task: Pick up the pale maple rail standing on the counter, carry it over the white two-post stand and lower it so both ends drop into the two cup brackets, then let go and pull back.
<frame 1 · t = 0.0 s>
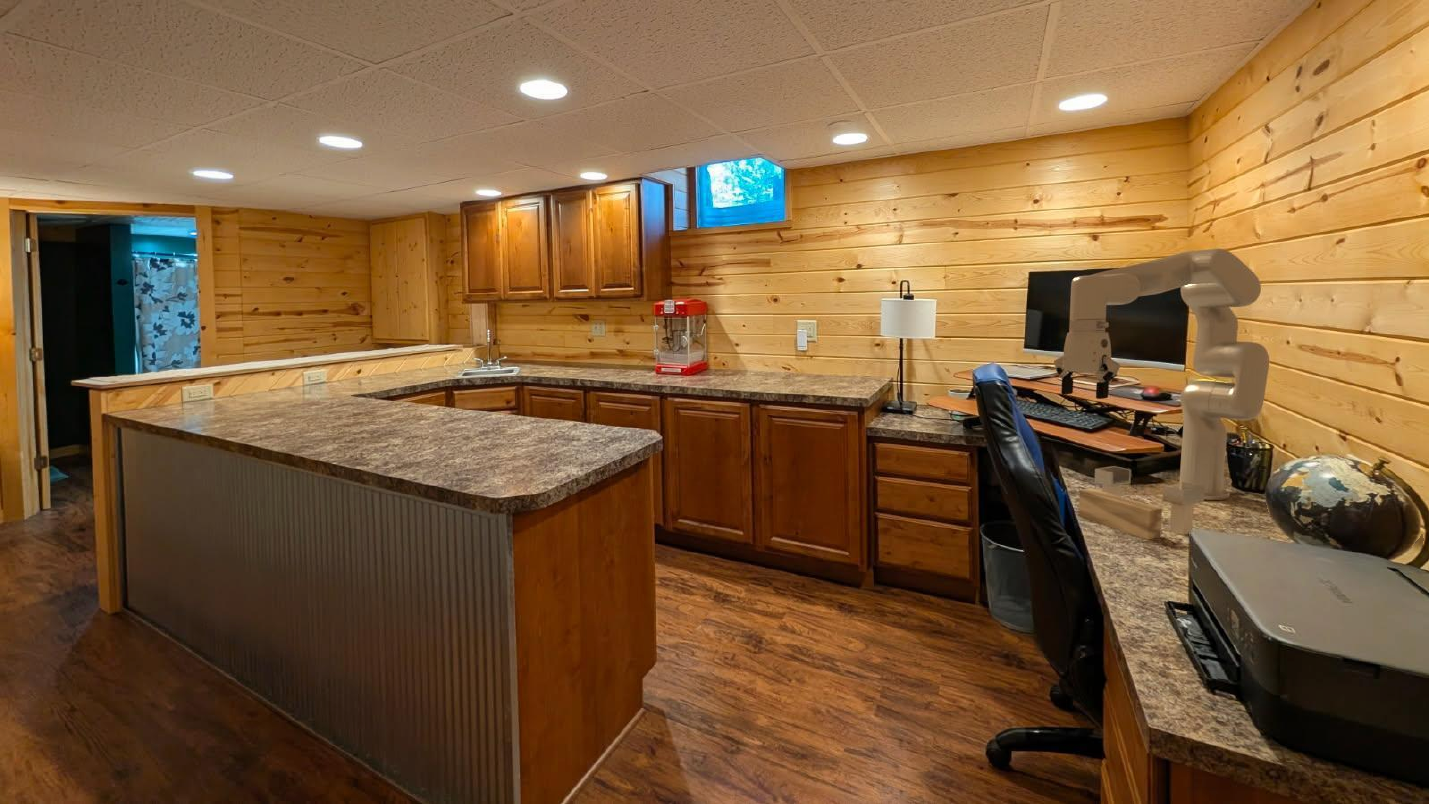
hand: (1083, 396, 153), 31 cm above the counter, fingers open, 9 cm apart
bracket stand: (1143, 520, 152), on the counter
rail: (1117, 526, 149), on the counter
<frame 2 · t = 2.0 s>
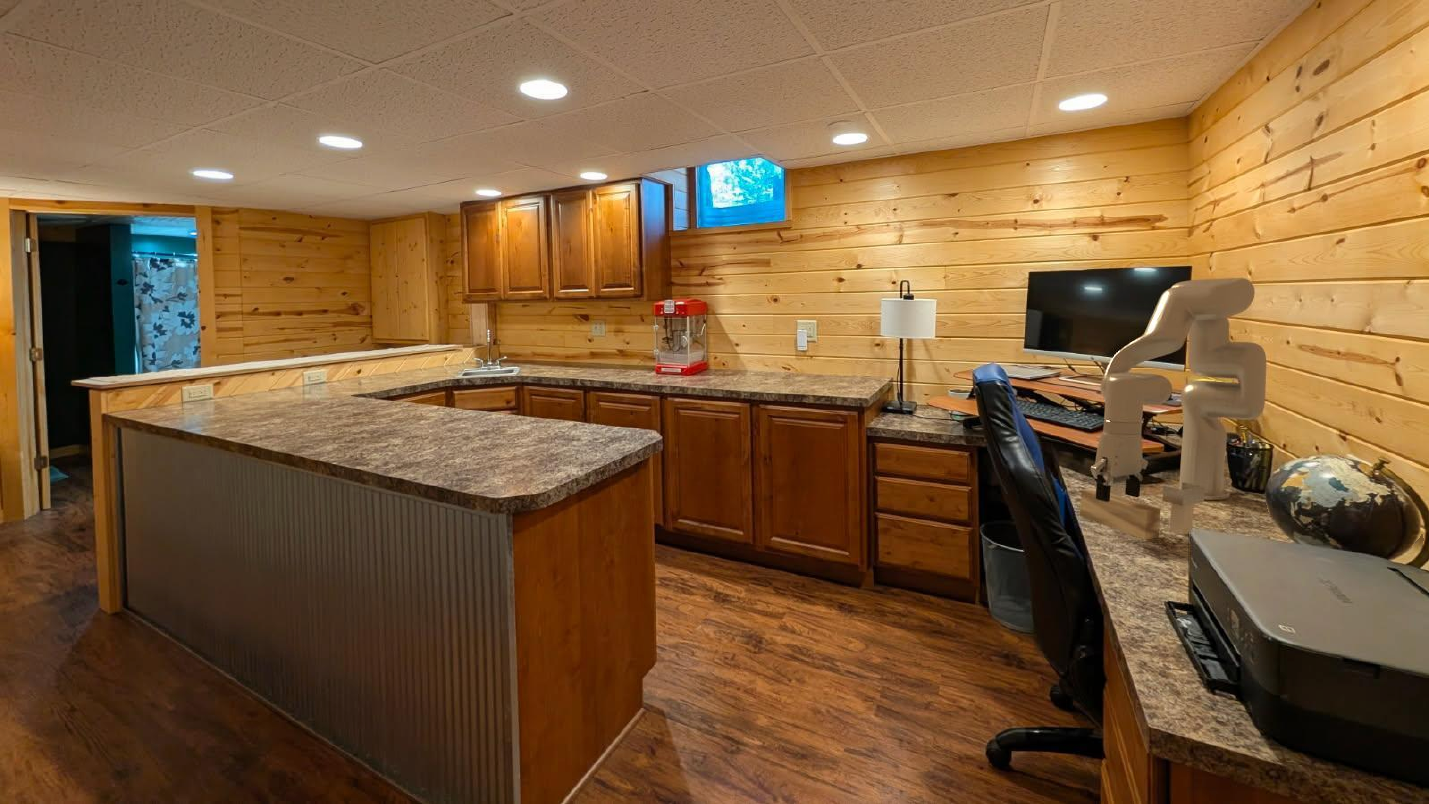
hand: (1117, 498, 148), 7 cm above the counter, fingers open, 9 cm apart
nothing on the counter moved.
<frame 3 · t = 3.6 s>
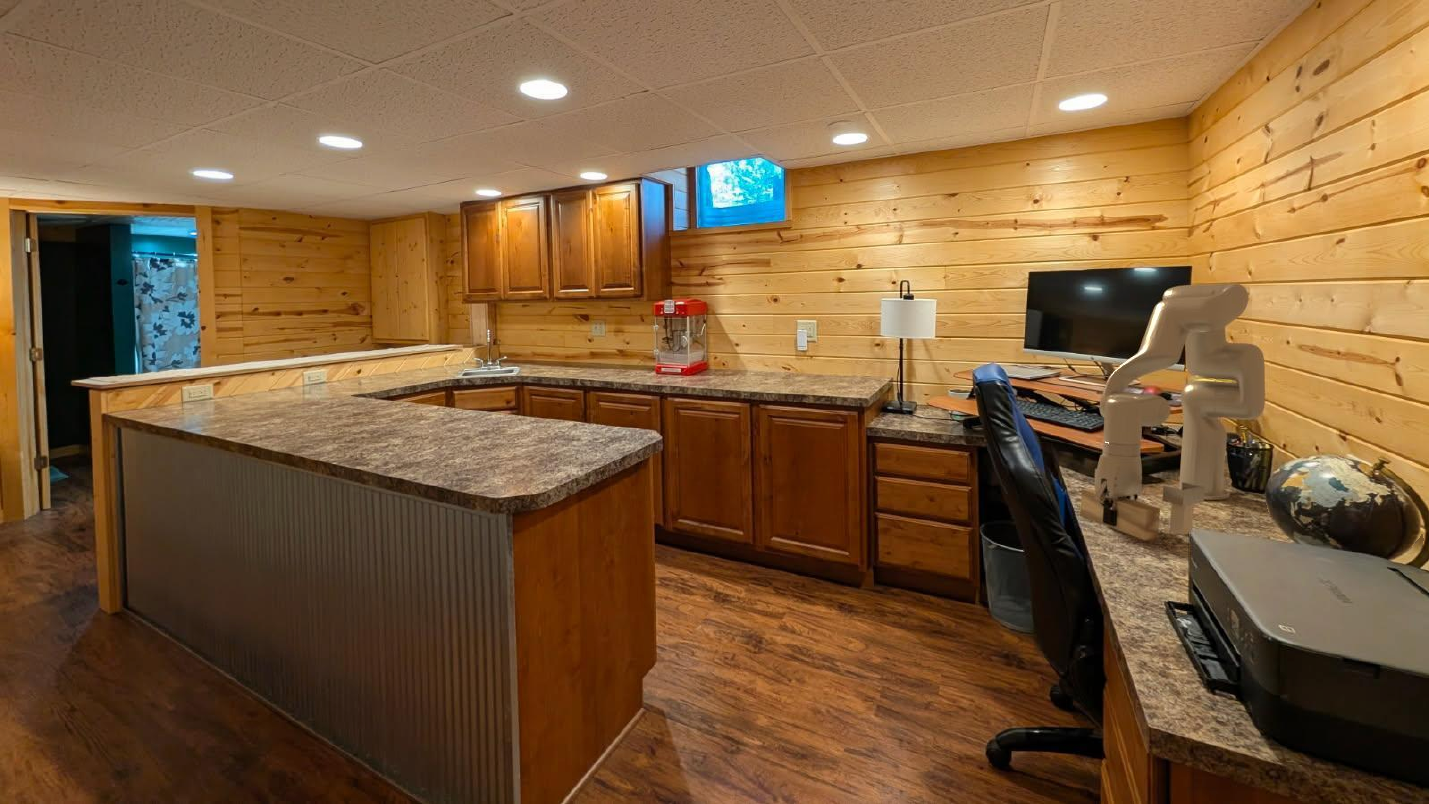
hand: (1117, 522, 149), 1 cm above the counter, fingers closed on rail, 4 cm apart
rail: (1117, 526, 149), on the counter, touching gripper
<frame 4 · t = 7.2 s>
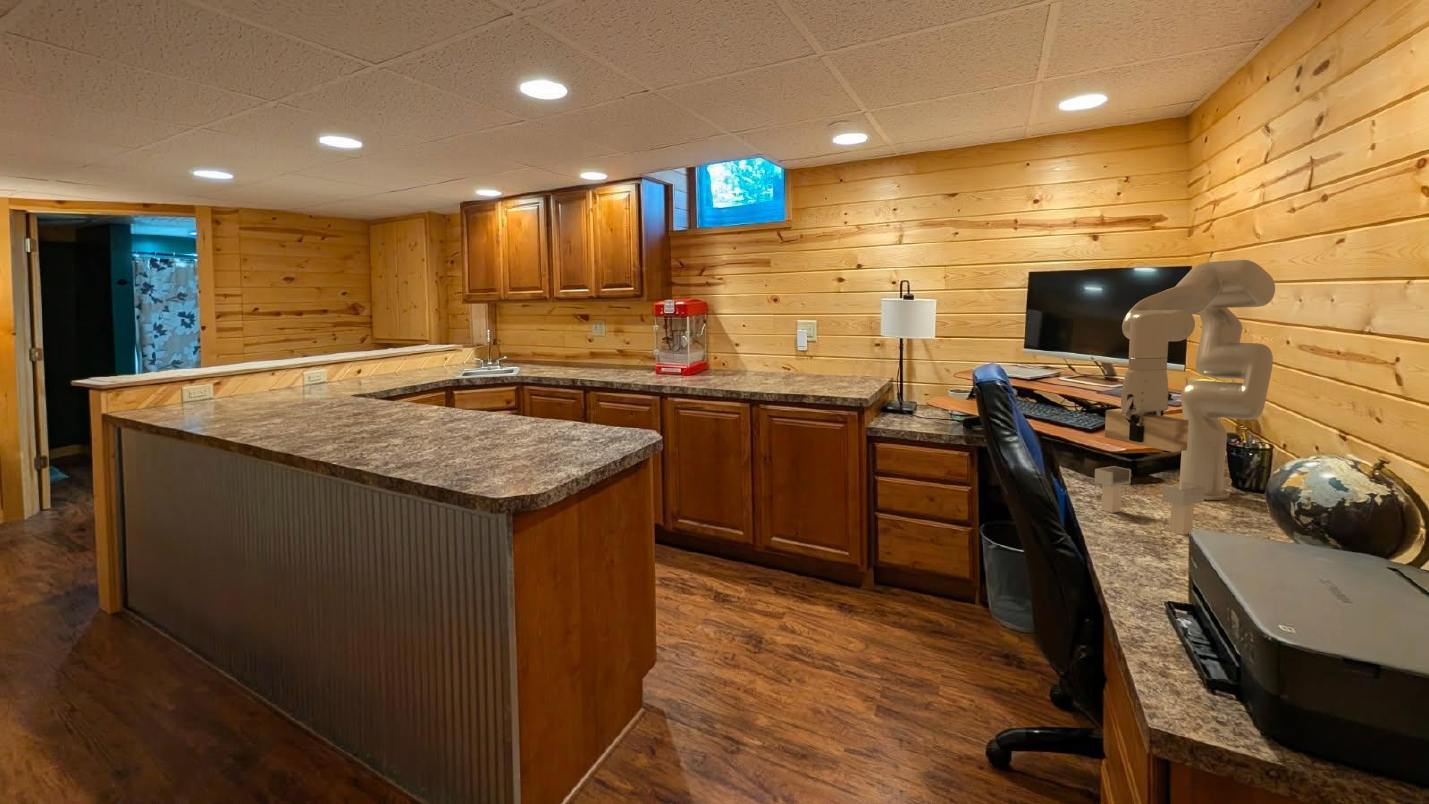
hand: (1143, 439, 149), 21 cm above the counter, fingers closed on rail, 4 cm apart
rail: (1143, 443, 149), point 20 cm above the counter, touching gripper
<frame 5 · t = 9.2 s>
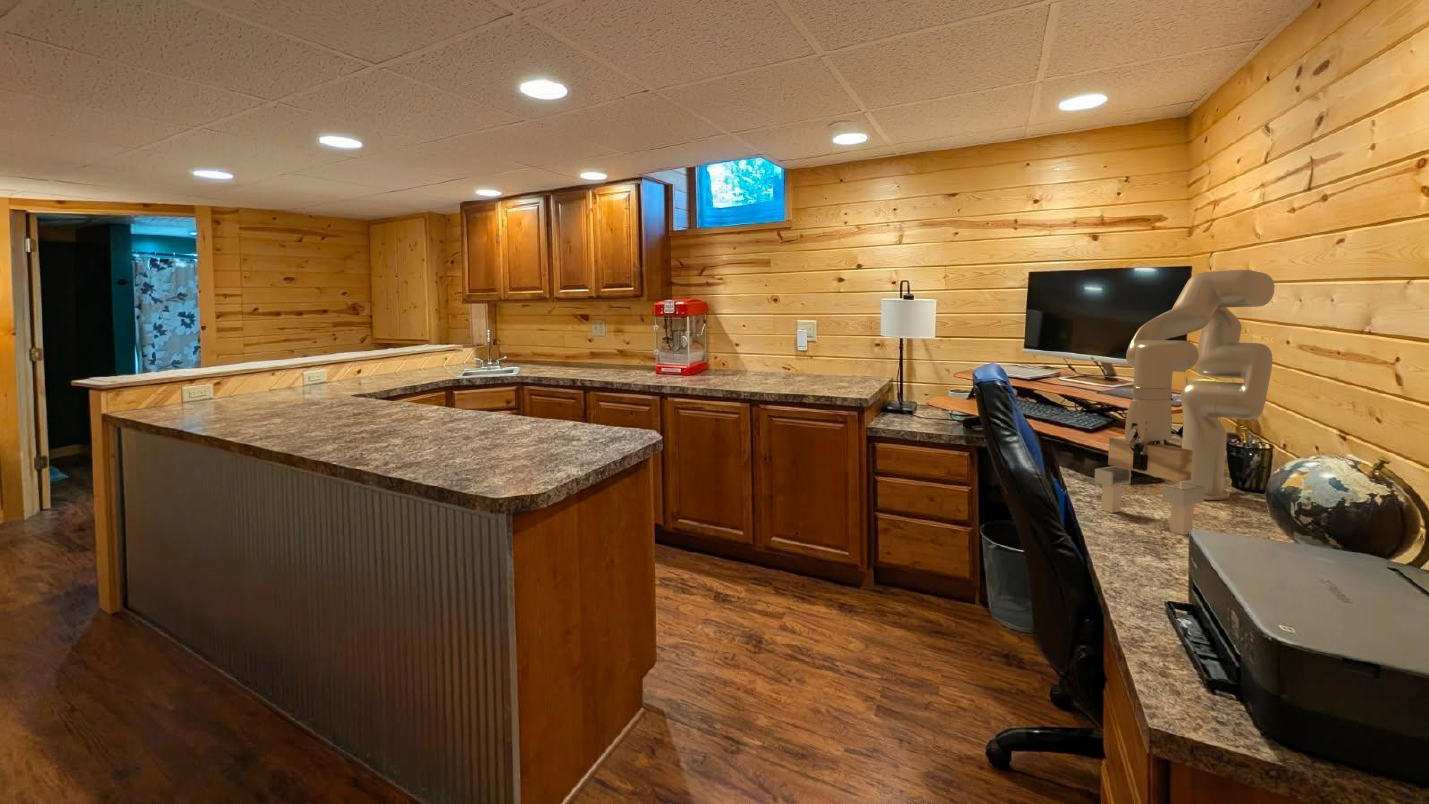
hand: (1146, 467, 150), 13 cm above the counter, fingers closed on rail, 4 cm apart
rail: (1147, 471, 150), point 12 cm above the counter, touching gripper
when the fingers open (10 cm above the counter, at t = 10.7 s): rail drops 1 cm, resting on bracket stand.
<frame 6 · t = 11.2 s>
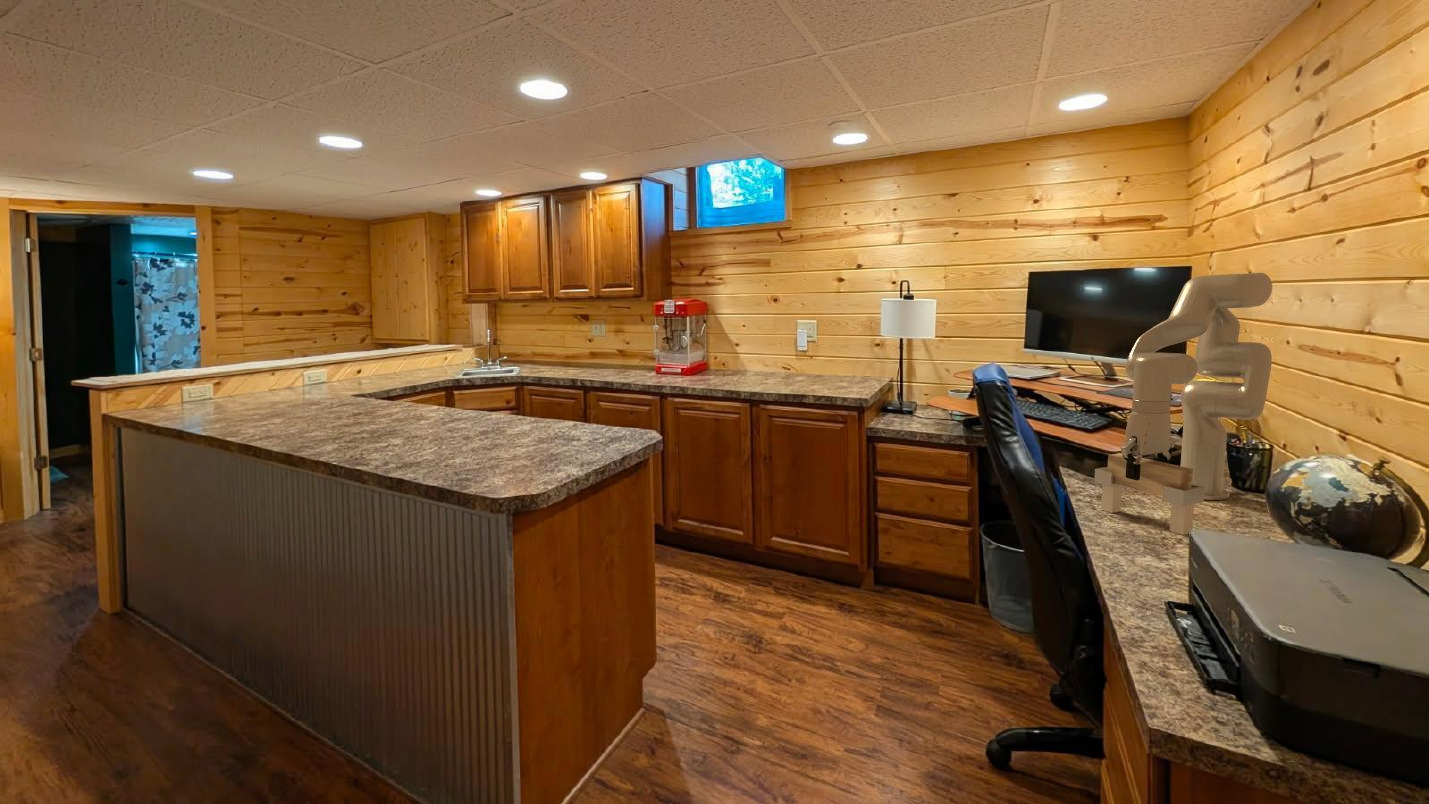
hand: (1146, 476, 151), 11 cm above the counter, fingers open, 9 cm apart
rail: (1146, 489, 151), point 8 cm above the counter, touching bracket stand
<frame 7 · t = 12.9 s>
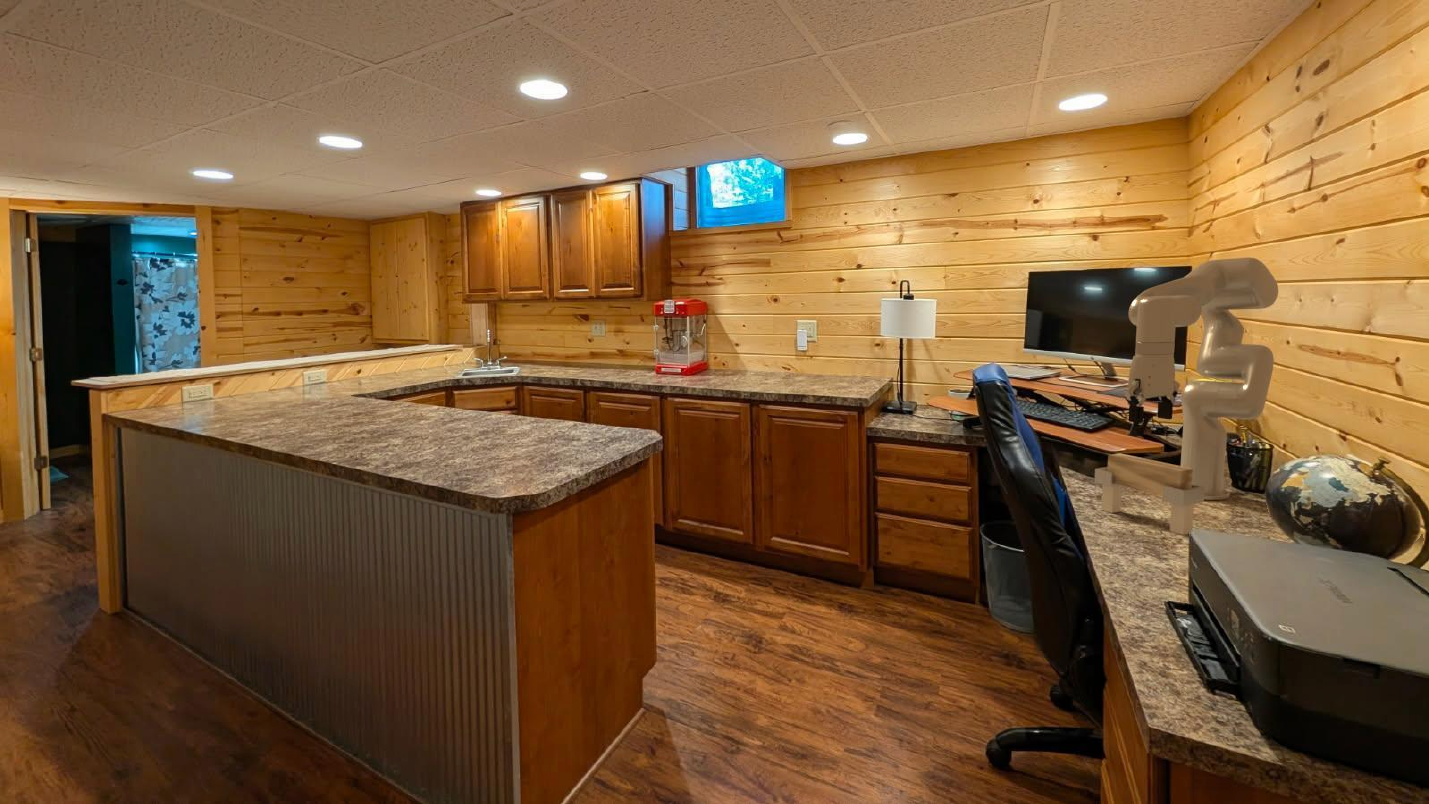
hand: (1150, 420, 149), 25 cm above the counter, fingers open, 9 cm apart
nothing on the counter moved.
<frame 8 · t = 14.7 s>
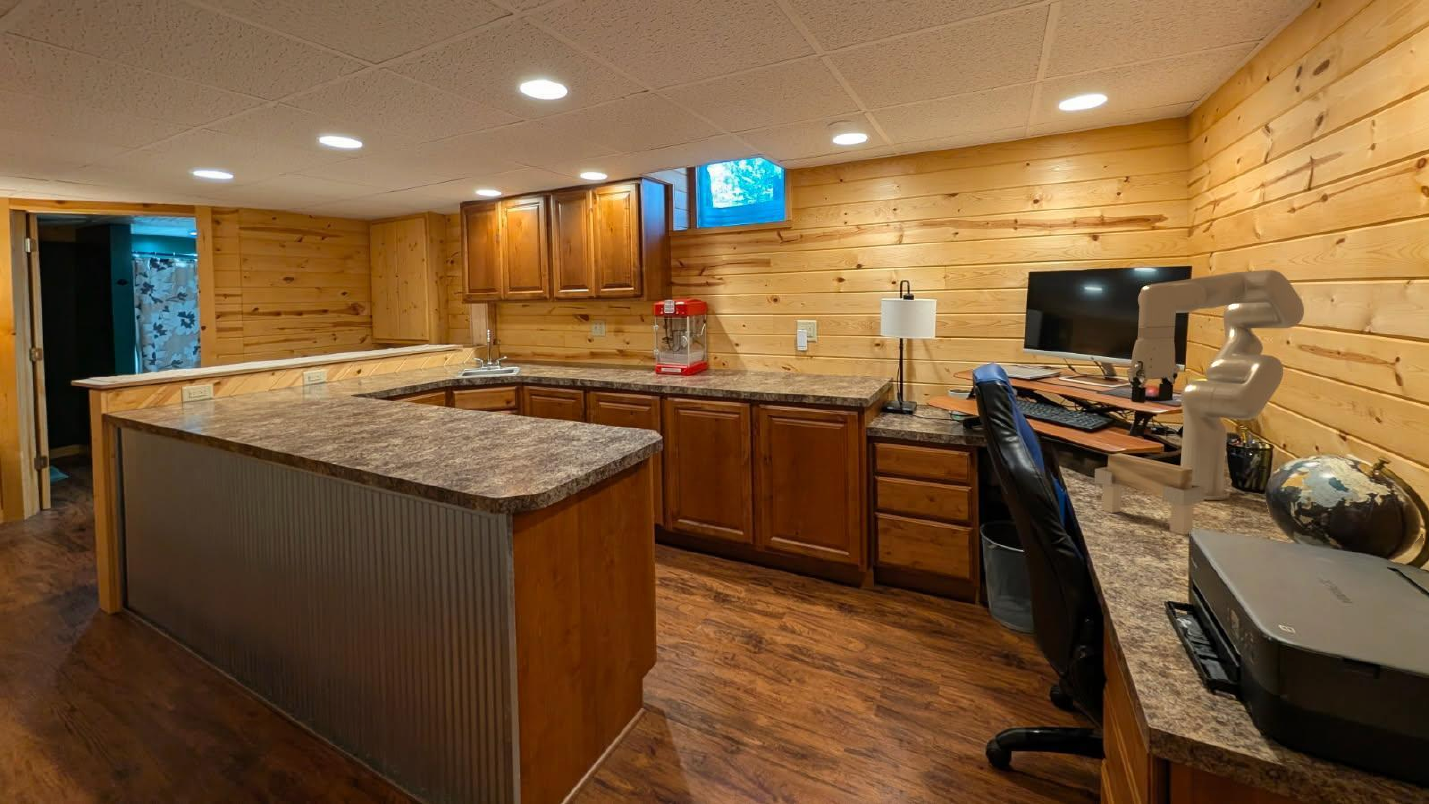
hand: (1151, 400, 158), 28 cm above the counter, fingers open, 9 cm apart
nothing on the counter moved.
at the end: rail 0.1 cm off-centre on the bracket stand, point 8.0 cm above the bracket stand's base; rail tilted 0°; the gripper is holding nothing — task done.
